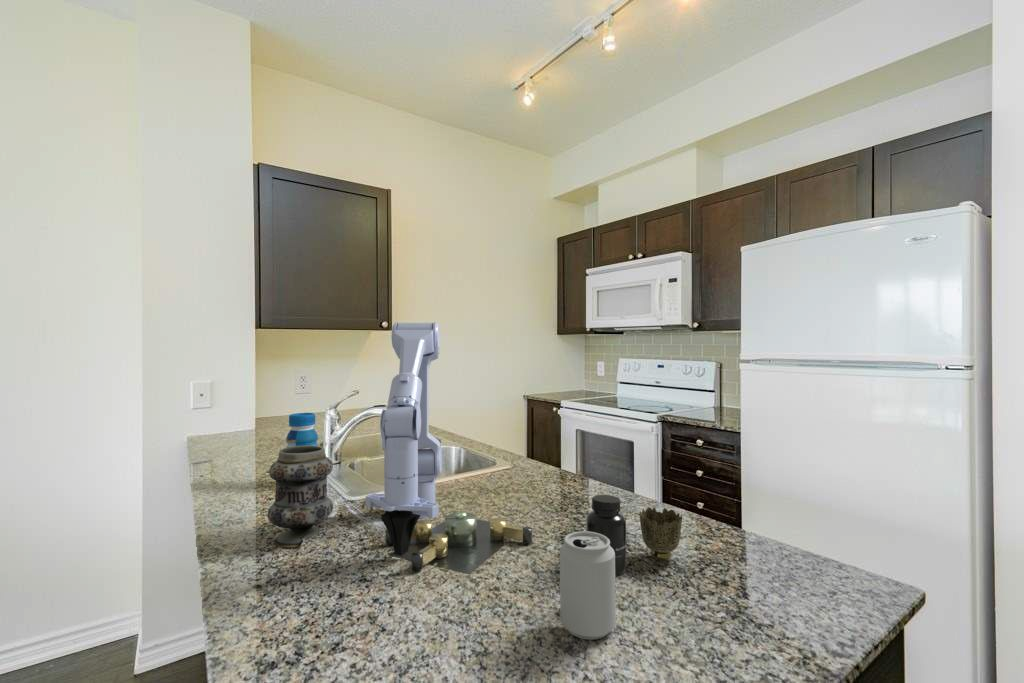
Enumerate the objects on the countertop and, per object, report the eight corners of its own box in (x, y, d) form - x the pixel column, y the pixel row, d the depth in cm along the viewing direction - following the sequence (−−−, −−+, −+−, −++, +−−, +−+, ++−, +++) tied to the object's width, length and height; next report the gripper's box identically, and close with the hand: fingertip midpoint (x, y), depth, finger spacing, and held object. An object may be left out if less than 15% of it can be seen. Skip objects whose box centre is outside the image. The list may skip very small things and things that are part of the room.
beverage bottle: (310, 490, 128) (310, 416, 128) (279, 490, 128) (279, 416, 128) (323, 481, 136) (323, 412, 136) (294, 481, 136) (294, 412, 137)
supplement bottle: (627, 579, 78) (626, 506, 78) (585, 575, 79) (584, 503, 79) (625, 561, 85) (625, 493, 85) (587, 557, 86) (586, 491, 86)
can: (555, 612, 68) (555, 529, 68) (606, 610, 69) (606, 527, 69) (566, 645, 61) (565, 551, 61) (623, 641, 61) (622, 548, 62)
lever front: (436, 549, 86) (436, 532, 87) (451, 552, 85) (451, 535, 85) (406, 569, 79) (406, 551, 79) (422, 573, 77) (422, 554, 77)
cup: (682, 552, 88) (682, 509, 88) (683, 570, 81) (682, 523, 81) (641, 547, 90) (640, 505, 91) (638, 563, 83) (637, 518, 84)
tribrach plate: (387, 561, 85) (387, 525, 85) (454, 520, 105) (454, 491, 105) (469, 581, 78) (469, 542, 78) (524, 533, 97) (524, 502, 97)
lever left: (430, 534, 93) (430, 519, 93) (433, 540, 90) (433, 525, 90) (385, 540, 90) (385, 525, 90) (386, 547, 87) (386, 531, 87)
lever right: (487, 538, 91) (486, 522, 91) (494, 532, 94) (494, 517, 94) (528, 546, 88) (528, 529, 88) (535, 539, 91) (535, 523, 91)
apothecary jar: (345, 532, 99) (345, 445, 99) (297, 555, 88) (297, 457, 88) (304, 523, 104) (304, 441, 104) (253, 544, 93) (253, 452, 93)
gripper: (353, 475, 83) (353, 554, 82) (421, 485, 76) (421, 570, 76) (380, 466, 89) (380, 539, 89) (445, 475, 83) (446, 553, 83)
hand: (401, 552), depth 83 cm, fingers closed
